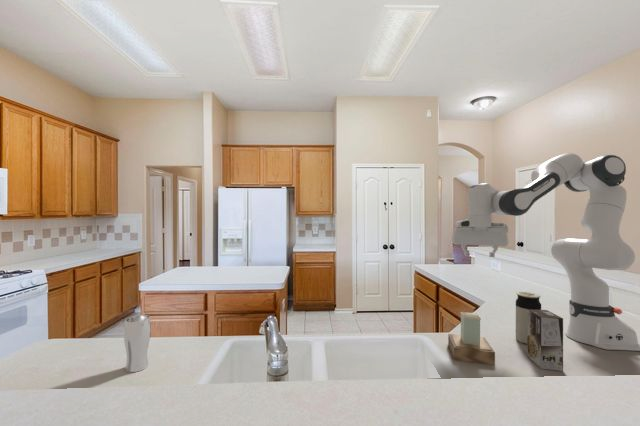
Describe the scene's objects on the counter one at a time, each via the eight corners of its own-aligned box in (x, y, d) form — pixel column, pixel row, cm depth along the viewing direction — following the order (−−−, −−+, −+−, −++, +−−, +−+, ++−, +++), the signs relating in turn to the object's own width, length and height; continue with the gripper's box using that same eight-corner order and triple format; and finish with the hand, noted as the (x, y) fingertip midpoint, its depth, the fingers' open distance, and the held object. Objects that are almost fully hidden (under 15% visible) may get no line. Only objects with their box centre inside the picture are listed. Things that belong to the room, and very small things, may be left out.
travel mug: (520, 344, 109) (520, 295, 110) (512, 336, 117) (512, 290, 117) (545, 347, 107) (545, 297, 107) (536, 338, 115) (536, 292, 115)
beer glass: (131, 362, 93) (132, 314, 93) (154, 361, 94) (155, 314, 94) (118, 373, 86) (119, 322, 86) (142, 373, 87) (143, 322, 87)
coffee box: (564, 371, 90) (564, 318, 90) (540, 369, 91) (540, 317, 92) (547, 357, 99) (547, 309, 99) (526, 355, 100) (526, 308, 101)
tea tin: (476, 339, 103) (476, 313, 103) (480, 345, 98) (480, 318, 98) (460, 337, 104) (460, 311, 104) (463, 343, 99) (463, 316, 99)
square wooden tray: (484, 348, 105) (484, 336, 105) (494, 365, 94) (494, 351, 94) (448, 344, 108) (448, 333, 108) (454, 359, 97) (454, 346, 97)
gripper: (505, 223, 121) (505, 256, 121) (451, 222, 126) (451, 254, 126) (510, 223, 115) (510, 258, 115) (454, 222, 120) (453, 256, 120)
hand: (479, 256), depth 121 cm, fingers open, 8 cm apart
